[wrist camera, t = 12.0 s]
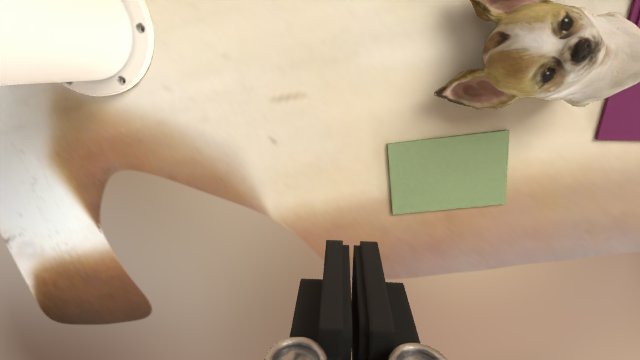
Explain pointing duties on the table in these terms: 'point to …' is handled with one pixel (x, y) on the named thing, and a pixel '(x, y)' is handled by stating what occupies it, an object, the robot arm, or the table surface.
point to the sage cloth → (448, 172)
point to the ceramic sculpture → (548, 55)
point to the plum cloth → (622, 104)
